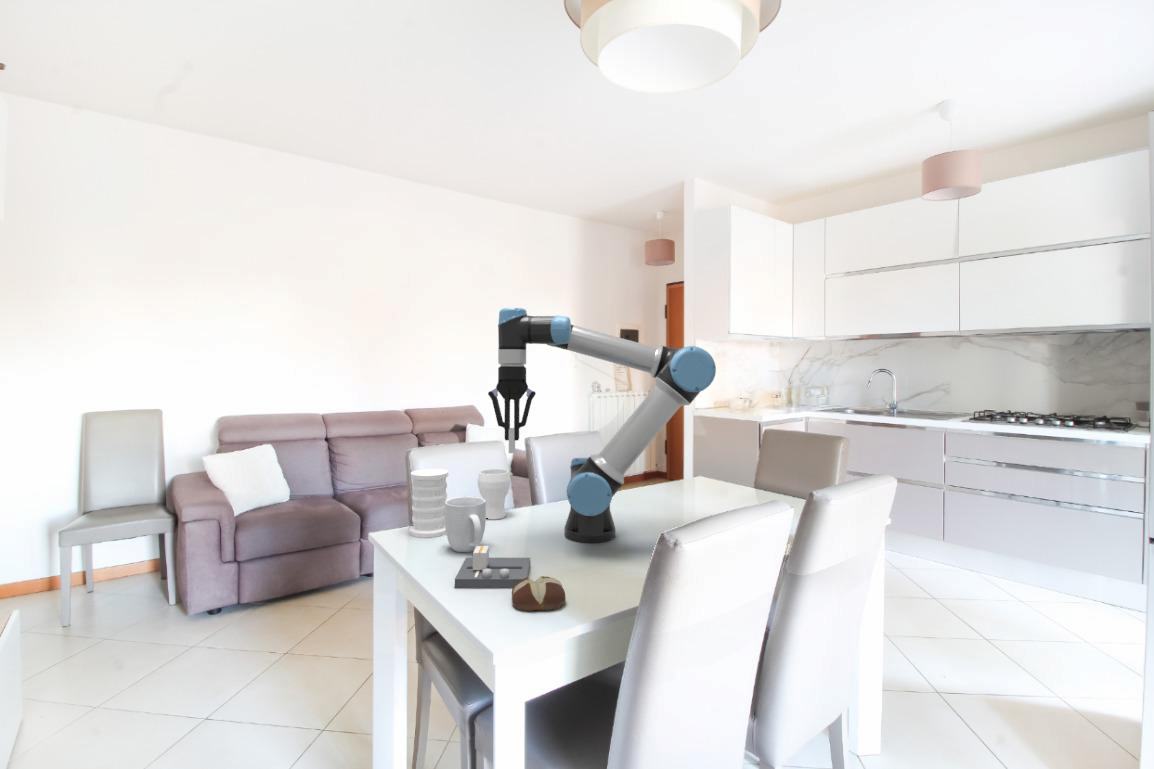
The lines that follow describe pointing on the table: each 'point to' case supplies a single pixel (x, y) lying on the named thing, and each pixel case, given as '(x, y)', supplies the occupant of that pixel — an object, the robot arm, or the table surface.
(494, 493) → the cup
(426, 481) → the decorative container
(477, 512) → the mug
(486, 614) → the table surface
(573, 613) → the table surface
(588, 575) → the table surface
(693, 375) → the robot arm
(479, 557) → the fader cap
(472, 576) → the console
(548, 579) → the bread
